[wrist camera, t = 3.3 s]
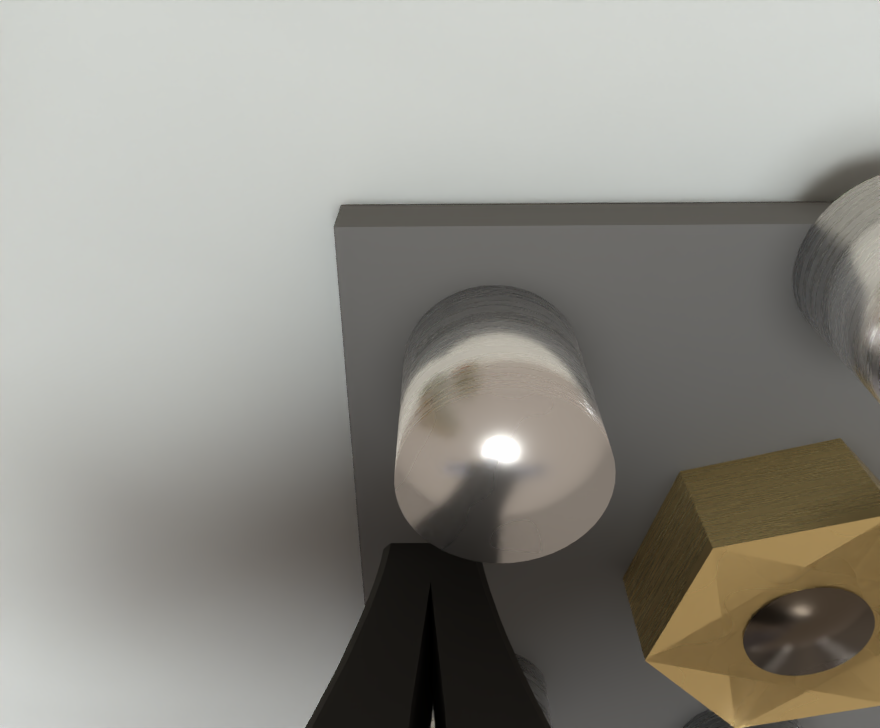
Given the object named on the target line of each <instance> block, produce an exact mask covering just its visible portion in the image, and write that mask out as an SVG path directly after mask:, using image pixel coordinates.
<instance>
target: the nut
mask: <svg viewBox="0 0 880 728" xmlns="http://www.w3.org/2000/svg"><path fill="white" fill-rule="evenodd" d="M623 581H624V585H625V589H626V592H627V596H628V600H629V603H630V607H631V611H632V615H633V618H634V622H635V626H636V629H637V633H638V637H639V640H640V644H641V648H642V651H643V655H644V659H645V661H646V662H647V663H649V664H650V665H651V666H653V667H654V668H655V669H657V670H658V671H659V672H661V673H662V674H663V675H665V676H666V677H667V678H669V679H670V680H671V681H673V682H674V683H675V684H677V685H678V686H679V687H681V688H682V689H683V690H685V691H686V692H687V693H689V694H690V695H691V696H693V697H694V698H695V699H697V700H698V701H699V702H701V703H702V704H703V705H705V706H706V707H707V708H709V709H710V710H711V711H713V712H714V713H715V714H717V715H718V716H719V717H721V718H722V719H723V720H725V721H726V722H727V723H729V724H730V725H731V726H733V727H734V728H743V727H749V726H756V725H762V724H768V723H774V722H781V721H787V720H793V719H799V718H806V717H812V716H818V715H825V714H831V713H837V712H843V711H850V710H856V709H862V708H868V707H875V706H880V481H879V479H878V478H877V477H876V476H875V475H874V474H873V473H872V472H871V471H870V470H869V469H868V468H867V466H866V465H865V464H864V463H863V462H862V461H861V460H860V459H859V458H858V457H857V456H856V454H855V453H854V452H853V451H852V450H851V449H850V448H849V447H848V446H847V445H846V444H845V443H844V441H843V440H842V439H841V438H838V439H833V440H829V441H824V442H819V443H814V444H809V445H804V446H800V447H795V448H790V449H785V450H780V451H775V452H771V453H766V454H761V455H756V456H751V457H746V458H742V459H737V460H732V461H727V462H722V463H718V464H713V465H708V466H703V467H698V468H693V469H689V470H684V471H680V472H679V474H678V476H677V478H676V480H675V482H674V483H673V485H672V487H671V489H670V491H669V493H668V495H667V497H666V498H665V500H664V502H663V504H662V506H661V508H660V510H659V511H658V513H657V515H656V517H655V519H654V521H653V523H652V524H651V526H650V528H649V530H648V532H647V534H646V536H645V537H644V539H643V541H642V543H641V545H640V547H639V549H638V551H637V552H636V554H635V556H634V558H633V560H632V562H631V564H630V565H629V567H628V569H627V571H626V573H625V575H624V577H623Z"/></svg>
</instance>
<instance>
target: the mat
mask: <svg viewBox="0 0 880 728" xmlns="http://www.w3.org/2000/svg"><path fill="white" fill-rule="evenodd" d="M832 203H833V202H779V203H625V204H471V205H341V207H340V210H339V213H338V216H337V219H336V222H335V225H334V236H335V248H336V260H337V272H338V284H339V296H340V309H341V321H342V333H343V345H344V357H345V369H346V381H347V394H348V406H349V418H350V430H351V442H352V454H353V466H354V479H355V491H356V503H357V515H358V527H359V539H360V551H361V564H362V576H363V588H364V600H365V605H366V603H367V600H368V598H369V595H370V592H371V590H372V587H373V584H374V581H375V578H376V575H377V572H378V569H379V565H380V562H381V558H382V553H383V549H384V548H385V547H386V546H388V545H389V544H390V543H429V542H428V541H427V540H425V539H424V538H423V537H422V536H420V535H419V534H418V533H417V532H416V531H415V530H414V529H413V527H412V526H411V525H410V524H409V522H408V521H407V520H406V518H405V517H404V515H403V513H402V511H401V509H400V507H399V504H398V501H397V498H396V494H395V486H394V475H395V461H396V449H397V436H398V424H399V412H400V399H401V387H402V375H403V362H404V353H405V348H406V344H407V341H408V339H409V336H410V334H411V332H412V330H413V328H414V327H415V325H416V324H417V322H418V321H419V320H420V318H421V317H422V316H423V315H424V314H425V313H426V312H427V311H428V310H429V309H430V308H431V307H433V306H434V305H435V304H436V303H438V302H439V301H441V300H443V299H444V298H446V297H448V296H450V295H452V294H454V293H457V292H459V291H462V290H465V289H469V288H473V287H479V286H488V285H501V286H510V287H516V288H520V289H523V290H527V291H530V292H532V293H534V294H536V295H538V296H540V297H542V298H544V299H545V300H547V301H548V302H550V303H551V304H552V305H554V306H555V307H556V308H557V309H558V310H559V311H560V312H561V313H562V314H563V315H564V316H565V318H566V319H567V321H568V322H569V324H570V325H571V327H572V329H573V331H574V333H575V336H576V339H577V342H578V345H579V349H580V352H581V355H582V358H583V361H584V364H585V368H586V371H587V374H588V377H589V380H590V383H591V387H592V390H593V393H594V396H595V399H596V402H597V406H598V409H599V412H600V415H601V418H602V421H603V425H604V428H605V431H606V434H607V437H608V440H609V444H610V447H611V450H612V453H613V457H614V461H615V470H616V475H615V485H614V490H613V494H612V497H611V499H610V502H609V504H608V506H607V508H606V509H605V511H604V513H603V515H602V516H601V517H600V518H599V520H598V521H597V522H596V524H595V525H594V526H593V527H592V528H591V529H590V530H589V531H588V532H587V533H585V534H584V535H583V536H582V537H580V538H579V539H578V540H576V541H575V542H573V543H571V544H570V545H568V546H567V547H565V548H563V549H561V550H558V551H556V552H554V553H552V554H549V555H546V556H543V557H540V558H536V559H532V560H528V561H522V562H515V563H486V562H482V563H483V567H484V571H485V575H486V578H487V582H488V585H489V588H490V591H491V594H492V597H493V600H494V603H495V606H496V609H497V611H498V614H499V617H500V619H501V622H502V625H503V627H504V629H505V632H506V634H507V637H508V639H509V641H510V644H511V646H512V648H513V650H514V653H515V654H517V655H520V656H522V657H524V658H525V659H527V660H529V661H530V662H531V663H533V664H534V665H535V666H536V667H537V668H538V669H539V670H540V672H541V673H542V675H543V677H544V679H545V683H546V689H547V696H548V703H549V711H550V718H551V726H552V728H682V727H683V726H684V725H685V724H686V723H687V722H688V721H689V720H691V719H692V718H693V717H695V716H696V715H698V714H700V713H701V712H703V711H706V710H708V709H709V708H707V707H706V706H705V705H703V704H702V703H701V702H699V701H698V700H697V699H695V698H694V697H693V696H691V695H690V694H689V693H687V692H686V691H685V690H683V689H682V688H681V687H679V686H678V685H677V684H675V683H674V682H673V681H671V680H670V679H669V678H667V677H666V676H665V675H663V674H662V673H661V672H659V671H658V670H657V669H655V668H654V667H653V666H651V665H650V664H649V663H647V662H646V661H645V659H644V655H643V651H642V648H641V644H640V640H639V637H638V633H637V629H636V626H635V622H634V618H633V615H632V611H631V607H630V603H629V600H628V596H627V592H626V589H625V585H624V581H623V577H624V575H625V573H626V571H627V569H628V567H629V565H630V564H631V562H632V560H633V558H634V556H635V554H636V552H637V551H638V549H639V547H640V545H641V543H642V541H643V539H644V537H645V536H646V534H647V532H648V530H649V528H650V526H651V524H652V523H653V521H654V519H655V517H656V515H657V513H658V511H659V510H660V508H661V506H662V504H663V502H664V500H665V498H666V497H667V495H668V493H669V491H670V489H671V487H672V485H673V483H674V482H675V480H676V478H677V476H678V474H679V472H680V471H684V470H689V469H693V468H698V467H703V466H708V465H713V464H718V463H722V462H727V461H732V460H737V459H742V458H746V457H751V456H756V455H761V454H766V453H771V452H775V451H780V450H785V449H790V448H795V447H800V446H804V445H809V444H814V443H819V442H824V441H829V440H833V439H838V438H841V439H842V440H843V441H844V443H845V444H846V445H847V446H848V447H849V448H850V449H851V450H852V451H853V452H854V453H855V454H856V456H857V457H858V458H859V459H860V460H861V461H862V462H863V463H864V464H865V465H866V466H867V468H868V469H869V470H870V471H871V472H872V473H873V474H874V475H875V476H876V477H877V478H878V479H879V481H880V403H879V402H878V401H877V400H876V399H875V397H874V396H873V395H872V394H871V393H870V392H869V391H868V389H867V388H866V387H865V386H864V385H863V384H862V383H861V382H860V380H859V379H858V378H857V377H856V376H855V375H854V374H853V373H852V371H851V370H850V369H849V368H848V367H847V366H846V365H845V364H844V362H843V361H842V360H841V359H840V358H839V357H838V356H837V355H836V353H835V352H834V351H833V350H832V349H831V348H830V347H829V345H828V344H827V343H826V342H825V341H824V340H823V339H822V338H821V336H820V335H819V334H818V333H817V332H816V331H815V330H814V329H813V327H812V326H811V325H810V324H809V323H808V322H807V321H806V319H805V318H804V316H803V315H802V314H801V312H800V310H799V308H798V306H797V303H796V300H795V297H794V291H793V270H794V265H795V260H796V257H797V254H798V251H799V248H800V246H801V244H802V242H803V240H804V238H805V236H806V235H807V233H808V231H809V230H810V228H811V227H812V225H813V224H814V223H815V221H816V220H817V219H818V218H819V216H820V215H821V214H822V213H823V212H824V211H825V210H826V209H827V208H828V207H829V206H830V205H831V204H832ZM798 721H799V723H800V725H801V728H880V706H875V707H868V708H862V709H856V710H850V711H843V712H837V713H831V714H825V715H818V716H812V717H806V718H799V719H798Z"/></svg>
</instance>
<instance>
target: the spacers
mask: <svg viewBox="0 0 880 728" xmlns="http://www.w3.org/2000/svg"><path fill="white" fill-rule="evenodd" d="M793 291H794V297H795V300H796V303H797V306H798V308H799V310H800V312H801V314H802V315H803V316H804V318H805V319H806V321H807V322H808V323H809V324H810V325H811V326H812V327H813V329H814V330H815V331H816V332H817V333H818V334H819V335H820V336H821V338H822V339H823V340H824V341H825V342H826V343H827V344H828V345H829V347H830V348H831V349H832V350H833V351H834V352H835V353H836V355H837V356H838V357H839V358H840V359H841V360H842V361H843V362H844V364H845V365H846V366H847V367H848V368H849V369H850V370H851V371H852V373H853V374H854V375H855V376H856V377H857V378H858V379H859V380H860V382H861V383H862V384H863V385H864V386H865V387H866V388H867V389H868V391H869V392H870V393H871V394H872V395H873V396H874V397H875V399H876V400H877V401H878V402H879V403H880V175H878V176H875V177H873V178H871V179H868V180H866V181H864V182H862V183H861V184H859V185H857V186H855V187H853V188H852V189H850V190H849V191H847V192H846V193H845V194H843V195H842V196H840V197H839V198H838V199H837V200H836V201H834V202H833V203H832V204H831V205H830V206H829V207H828V208H827V209H826V210H825V211H824V212H823V213H822V214H821V215H820V216H819V218H818V219H817V220H816V221H815V223H814V224H813V225H812V227H811V228H810V230H809V231H808V233H807V235H806V236H805V238H804V240H803V242H802V244H801V246H800V248H799V251H798V254H797V257H796V260H795V265H794V270H793ZM615 475H616V470H615V461H614V457H613V453H612V450H611V447H610V444H609V440H608V437H607V434H606V431H605V428H604V425H603V421H602V418H601V415H600V412H599V409H598V406H597V402H596V399H595V396H594V393H593V390H592V387H591V383H590V380H589V377H588V374H587V371H586V368H585V364H584V361H583V358H582V355H581V352H580V349H579V345H578V342H577V339H576V336H575V333H574V331H573V329H572V327H571V325H570V324H569V322H568V321H567V319H566V318H565V316H564V315H563V314H562V313H561V312H560V311H559V310H558V309H557V308H556V307H555V306H554V305H552V304H551V303H550V302H548V301H547V300H545V299H544V298H542V297H540V296H538V295H536V294H534V293H532V292H530V291H527V290H523V289H520V288H516V287H510V286H501V285H488V286H479V287H473V288H469V289H465V290H462V291H459V292H457V293H454V294H452V295H450V296H448V297H446V298H444V299H443V300H441V301H439V302H438V303H436V304H435V305H434V306H433V307H431V308H430V309H429V310H428V311H427V312H426V313H425V314H424V315H423V316H422V317H421V318H420V320H419V321H418V322H417V324H416V325H415V327H414V328H413V330H412V332H411V334H410V336H409V339H408V341H407V344H406V348H405V353H404V362H403V375H402V387H401V399H400V412H399V424H398V436H397V449H396V461H395V475H394V486H395V494H396V498H397V501H398V504H399V507H400V509H401V511H402V513H403V515H404V517H405V518H406V520H407V521H408V522H409V524H410V525H411V526H412V527H413V529H414V530H415V531H416V532H417V533H418V534H419V535H420V536H422V537H423V538H424V539H425V540H427V541H428V542H429V543H431V544H433V545H434V546H436V547H437V548H439V549H441V550H443V551H445V552H447V553H449V554H452V555H455V556H458V557H461V558H464V559H468V560H473V561H479V562H486V563H515V562H522V561H528V560H532V559H536V558H540V557H543V556H546V555H549V554H552V553H554V552H556V551H558V550H561V549H563V548H565V547H567V546H568V545H570V544H571V543H573V542H575V541H576V540H578V539H579V538H580V537H582V536H583V535H584V534H585V533H587V532H588V531H589V530H590V529H591V528H592V527H593V526H594V525H595V524H596V522H597V521H598V520H599V518H600V517H601V516H602V515H603V513H604V511H605V509H606V508H607V506H608V504H609V502H610V499H611V497H612V494H613V490H614V485H615ZM515 655H516V657H517V660H518V662H519V664H520V666H521V669H522V671H523V673H524V675H525V677H526V679H527V681H528V683H529V686H530V688H531V690H532V692H533V694H534V696H535V698H536V700H537V702H538V704H539V706H540V707H541V709H542V711H543V713H544V715H545V717H546V719H547V721H548V723H549V725H550V727H551V728H552V726H551V718H550V711H549V703H548V696H547V689H546V683H545V679H544V677H543V675H542V673H541V672H540V670H539V669H538V668H537V667H536V666H535V665H534V664H533V663H531V662H530V661H529V660H527V659H525V658H524V657H522V656H520V655H517V654H515ZM431 728H435V722H434V710H432V721H431ZM682 728H734V727H733V726H731V725H730V724H729V723H727V722H726V721H725V720H723V719H722V718H721V717H719V716H718V715H717V714H715V713H714V712H713V711H711V710H710V709H708V710H706V711H703V712H701V713H700V714H698V715H696V716H695V717H693V718H692V719H691V720H689V721H688V722H687V723H686V724H685V725H684V726H683V727H682ZM743 728H801V725H800V723H799V721H798V719H793V720H787V721H781V722H774V723H768V724H762V725H756V726H749V727H743Z"/></svg>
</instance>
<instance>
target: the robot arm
mask: <svg viewBox="0 0 880 728" xmlns="http://www.w3.org/2000/svg"><path fill="white" fill-rule="evenodd" d="M432 710H434V722H435V728H551V727H550V725H549V723H548V721H547V719H546V717H545V715H544V713H543V711H542V709H541V707H540V706H539V704H538V702H537V700H536V698H535V696H534V694H533V692H532V690H531V688H530V686H529V683H528V681H527V679H526V677H525V675H524V673H523V671H522V669H521V666H520V664H519V662H518V660H517V657H516V655H515V653H514V650H513V648H512V646H511V644H510V641H509V639H508V637H507V634H506V632H505V629H504V627H503V625H502V622H501V619H500V617H499V614H498V611H497V609H496V606H495V603H494V600H493V597H492V594H491V591H490V588H489V585H488V582H487V578H486V575H485V571H484V567H483V563H482V562H479V561H473V560H468V559H464V558H461V557H458V556H455V555H452V554H449V553H447V552H445V551H443V550H441V549H439V548H437V547H436V546H434V545H433V544H431V543H390V544H389V545H388V546H386V547H385V548H384V549H383V553H382V558H381V562H380V565H379V569H378V572H377V575H376V578H375V581H374V584H373V587H372V590H371V592H370V595H369V598H368V600H367V603H366V605H365V608H364V610H363V613H362V615H361V618H360V620H359V622H358V624H357V627H356V629H355V631H354V633H353V635H352V638H351V640H350V642H349V644H348V646H347V648H346V651H345V653H344V655H343V657H342V659H341V662H340V664H339V666H338V668H337V670H336V672H335V674H334V675H333V677H332V679H331V681H330V683H329V685H328V687H327V689H326V690H325V692H324V694H323V696H322V698H321V700H320V702H319V704H318V705H317V707H316V709H315V711H314V713H313V715H312V717H311V719H310V720H309V722H308V724H307V726H306V727H305V728H431V721H432Z"/></svg>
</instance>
